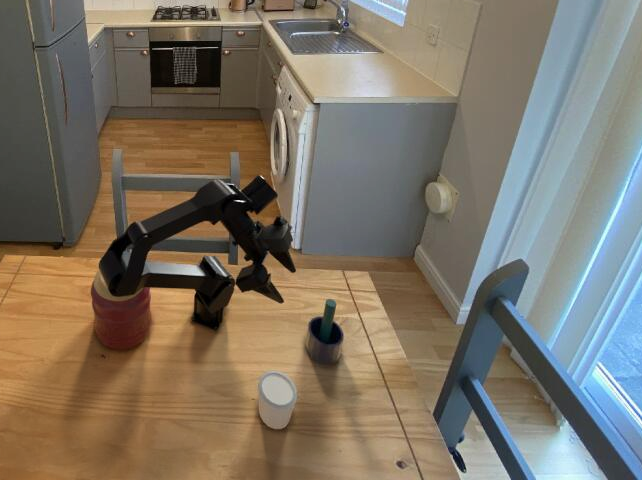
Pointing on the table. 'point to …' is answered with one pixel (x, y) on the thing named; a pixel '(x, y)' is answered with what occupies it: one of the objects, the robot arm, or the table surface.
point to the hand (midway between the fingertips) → (288, 286)
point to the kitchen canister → (120, 315)
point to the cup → (321, 350)
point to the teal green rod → (327, 321)
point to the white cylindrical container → (276, 398)
